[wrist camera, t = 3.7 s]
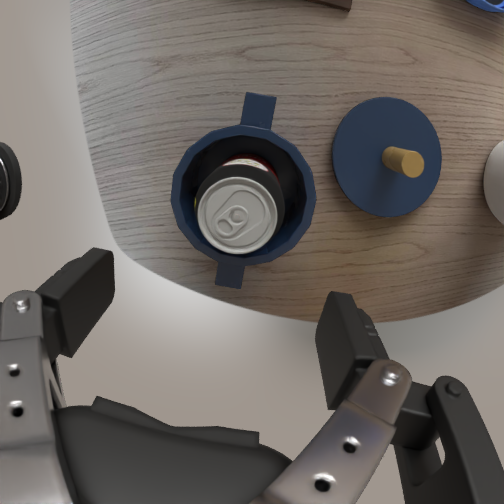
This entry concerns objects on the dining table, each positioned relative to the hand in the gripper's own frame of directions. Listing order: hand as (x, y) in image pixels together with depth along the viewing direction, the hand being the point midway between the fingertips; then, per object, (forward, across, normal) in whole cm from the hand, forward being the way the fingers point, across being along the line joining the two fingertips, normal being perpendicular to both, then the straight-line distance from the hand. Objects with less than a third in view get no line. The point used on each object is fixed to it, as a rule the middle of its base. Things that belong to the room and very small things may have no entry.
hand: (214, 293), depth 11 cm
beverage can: (+22, 0, 0) cm, 22 cm away
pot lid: (+21, -14, -6) cm, 26 cm away
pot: (+22, 0, 0) cm, 22 cm away
